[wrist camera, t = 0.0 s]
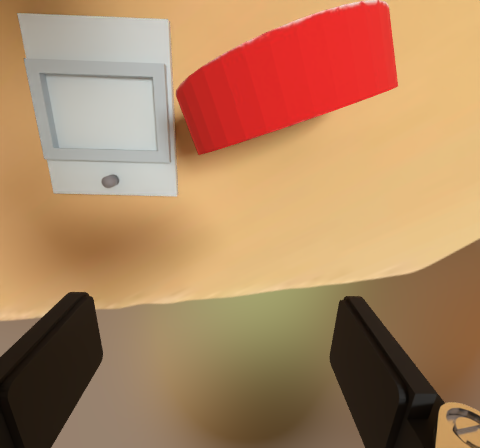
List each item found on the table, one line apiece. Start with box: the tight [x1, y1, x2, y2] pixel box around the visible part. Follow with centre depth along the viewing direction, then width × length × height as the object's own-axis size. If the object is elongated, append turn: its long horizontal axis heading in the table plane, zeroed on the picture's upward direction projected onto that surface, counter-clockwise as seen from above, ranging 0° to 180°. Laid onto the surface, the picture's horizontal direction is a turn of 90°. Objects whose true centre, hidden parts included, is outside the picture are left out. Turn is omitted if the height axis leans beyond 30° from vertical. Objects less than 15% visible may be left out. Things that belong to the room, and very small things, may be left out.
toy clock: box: [176, 0, 398, 155], centre depth 27 cm, size 20×6×20 cm, turn 108°
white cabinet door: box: [17, 13, 178, 196], centre depth 35 cm, size 22×18×3 cm
